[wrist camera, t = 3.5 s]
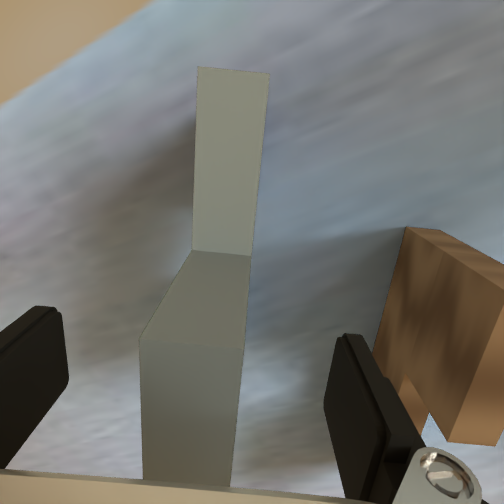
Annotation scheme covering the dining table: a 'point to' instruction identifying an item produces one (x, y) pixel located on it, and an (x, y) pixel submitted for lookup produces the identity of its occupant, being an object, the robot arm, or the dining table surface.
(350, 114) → the dining table surface
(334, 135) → the dining table surface
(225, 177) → the grey slotted plate
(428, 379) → the walnut slotted board
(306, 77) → the dining table surface
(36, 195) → the dining table surface
